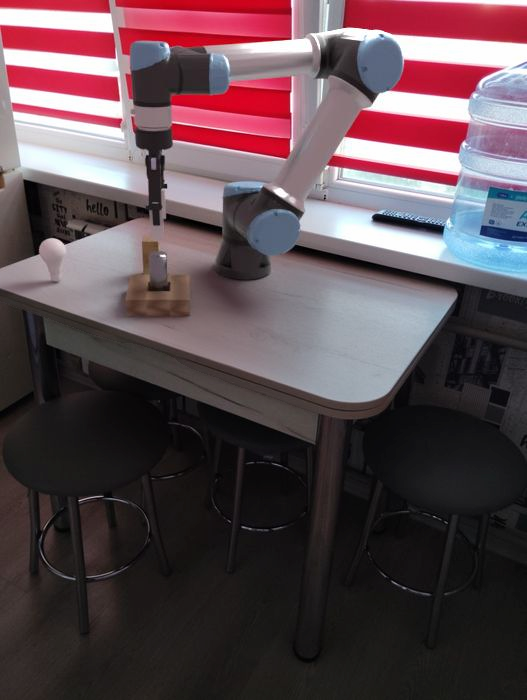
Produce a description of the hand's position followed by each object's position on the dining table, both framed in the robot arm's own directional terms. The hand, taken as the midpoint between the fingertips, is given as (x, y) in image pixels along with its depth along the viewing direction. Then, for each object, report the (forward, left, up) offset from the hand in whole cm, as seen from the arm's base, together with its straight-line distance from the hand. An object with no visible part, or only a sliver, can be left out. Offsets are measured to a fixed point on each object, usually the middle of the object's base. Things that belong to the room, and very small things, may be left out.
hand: (158, 228), depth 131 cm
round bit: (0, 0, -18) cm, 18 cm away
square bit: (+3, -15, -18) cm, 24 cm away
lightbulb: (+26, -11, -18) cm, 34 cm away
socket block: (0, 0, -18) cm, 18 cm away
